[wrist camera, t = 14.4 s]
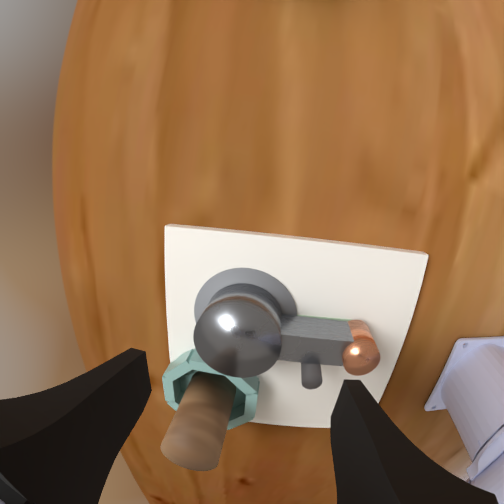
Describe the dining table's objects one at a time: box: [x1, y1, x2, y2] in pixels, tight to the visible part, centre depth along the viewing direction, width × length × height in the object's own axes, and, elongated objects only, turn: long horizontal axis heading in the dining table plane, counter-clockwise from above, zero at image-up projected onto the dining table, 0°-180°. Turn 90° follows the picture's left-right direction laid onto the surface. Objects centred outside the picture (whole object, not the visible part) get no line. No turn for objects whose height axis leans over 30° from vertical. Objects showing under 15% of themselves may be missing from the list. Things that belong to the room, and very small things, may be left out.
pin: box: [161, 371, 236, 471], centre depth 17 cm, size 4×4×7 cm
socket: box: [162, 348, 260, 430], centre depth 20 cm, size 7×7×2 cm
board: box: [165, 224, 429, 428], centre depth 18 cm, size 17×16×5 cm
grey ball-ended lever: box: [193, 283, 380, 378], centre depth 17 cm, size 11×5×3 cm, turn 84°
